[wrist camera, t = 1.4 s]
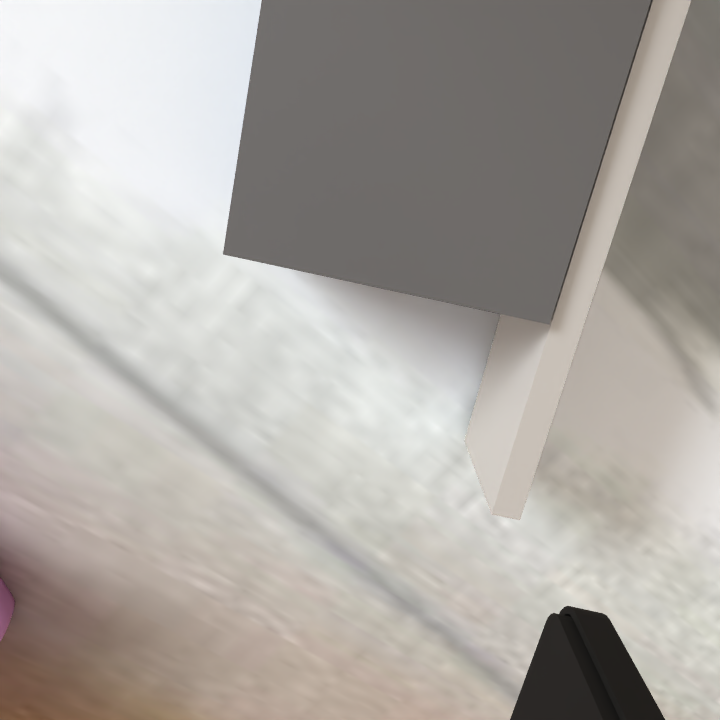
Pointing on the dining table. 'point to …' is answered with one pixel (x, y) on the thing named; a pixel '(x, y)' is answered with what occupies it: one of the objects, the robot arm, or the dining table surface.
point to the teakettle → (5, 608)
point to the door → (565, 292)
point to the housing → (429, 142)
